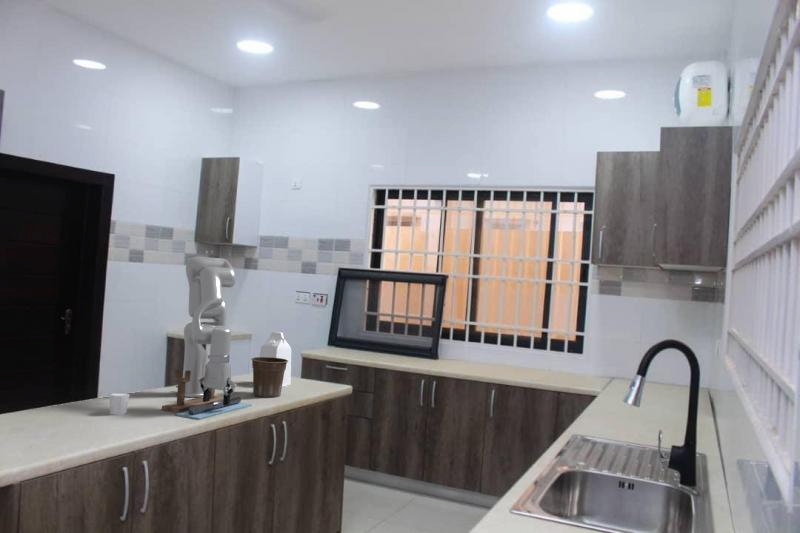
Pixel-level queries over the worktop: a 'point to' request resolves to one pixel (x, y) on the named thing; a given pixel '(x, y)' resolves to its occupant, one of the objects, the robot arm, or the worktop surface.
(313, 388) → the worktop surface
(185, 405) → the rack
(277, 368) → the plant pot
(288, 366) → the milk
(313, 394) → the worktop surface
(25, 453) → the worktop surface
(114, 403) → the white cup
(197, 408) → the rod
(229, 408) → the mat
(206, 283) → the robot arm
